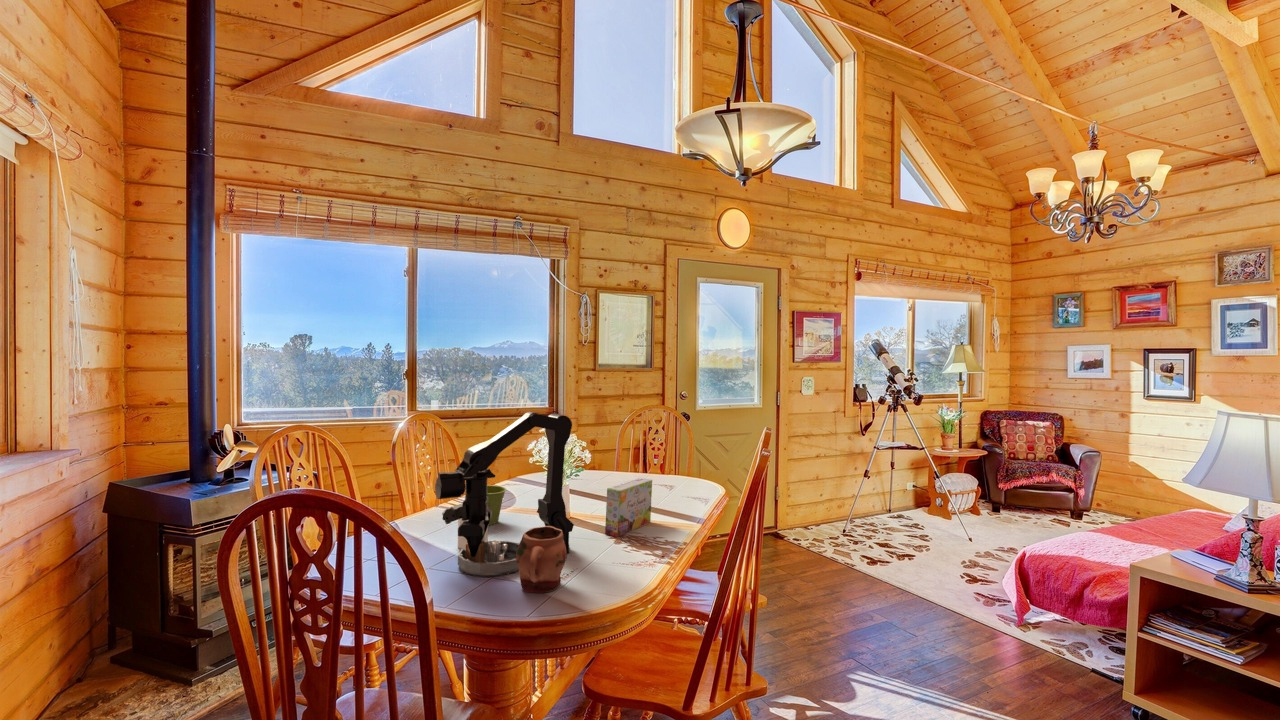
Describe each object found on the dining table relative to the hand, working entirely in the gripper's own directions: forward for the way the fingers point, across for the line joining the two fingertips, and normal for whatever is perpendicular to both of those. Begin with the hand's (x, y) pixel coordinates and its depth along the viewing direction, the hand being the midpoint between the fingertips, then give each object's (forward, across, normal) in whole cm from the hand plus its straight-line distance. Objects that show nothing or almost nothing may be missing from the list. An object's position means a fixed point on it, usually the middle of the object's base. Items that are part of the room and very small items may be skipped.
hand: (475, 552), depth 160 cm
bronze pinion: (+2, 0, 0) cm, 2 cm away
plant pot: (+4, -40, -2) cm, 40 cm away
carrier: (+3, 0, +5) cm, 6 cm away
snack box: (+4, -32, +45) cm, 55 cm away
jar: (+4, -16, -3) cm, 17 cm away
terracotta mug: (+4, +17, +18) cm, 26 cm away
